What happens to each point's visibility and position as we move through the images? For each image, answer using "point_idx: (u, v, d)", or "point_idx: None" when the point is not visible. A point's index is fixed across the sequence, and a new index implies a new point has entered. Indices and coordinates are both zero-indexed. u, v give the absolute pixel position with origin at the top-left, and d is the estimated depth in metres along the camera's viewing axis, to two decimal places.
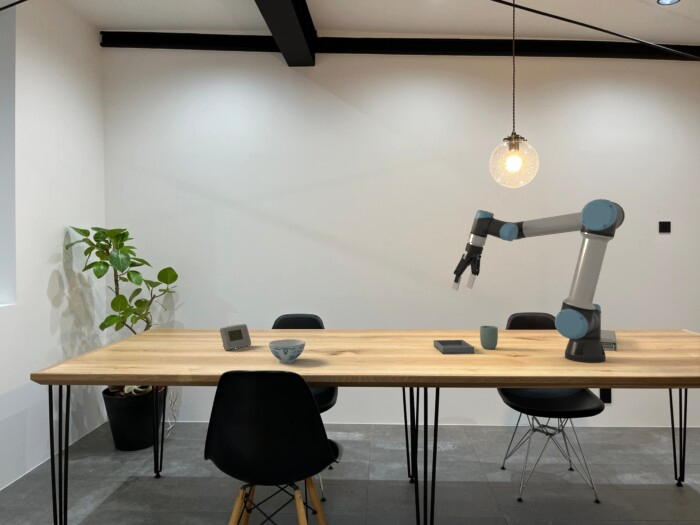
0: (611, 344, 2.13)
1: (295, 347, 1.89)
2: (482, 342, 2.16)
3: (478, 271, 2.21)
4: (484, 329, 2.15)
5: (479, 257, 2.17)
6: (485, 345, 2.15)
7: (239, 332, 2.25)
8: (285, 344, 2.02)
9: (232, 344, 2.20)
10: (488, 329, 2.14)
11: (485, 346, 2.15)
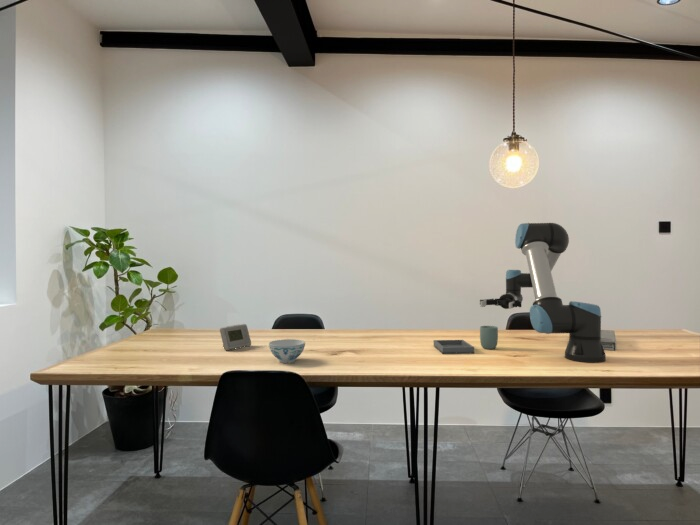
0: (610, 344, 2.13)
1: (295, 347, 1.89)
2: (482, 342, 2.16)
3: (518, 301, 2.27)
4: (484, 329, 2.15)
5: None
6: (485, 345, 2.15)
7: (239, 332, 2.25)
8: (285, 344, 2.02)
9: (232, 344, 2.19)
10: (488, 329, 2.14)
11: (485, 346, 2.15)
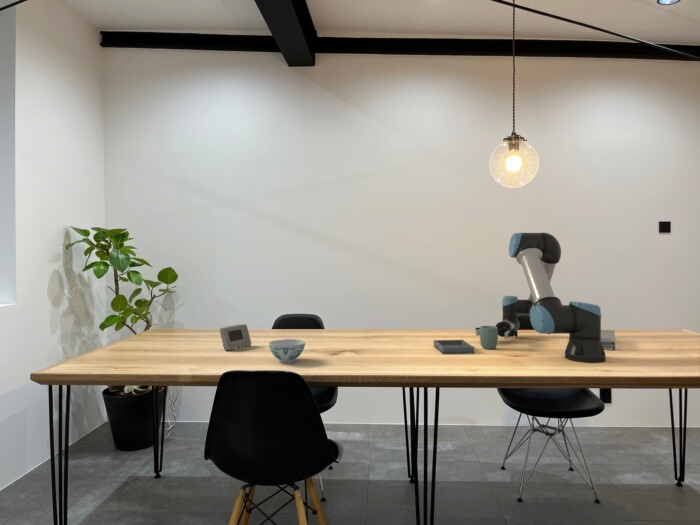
0: (610, 344, 2.14)
1: (295, 347, 1.89)
2: (482, 342, 2.16)
3: (514, 331, 2.23)
4: (484, 329, 2.15)
5: (512, 329, 2.30)
6: (485, 345, 2.15)
7: (239, 333, 2.25)
8: (285, 344, 2.02)
9: (232, 344, 2.19)
10: (488, 329, 2.14)
11: (485, 346, 2.15)
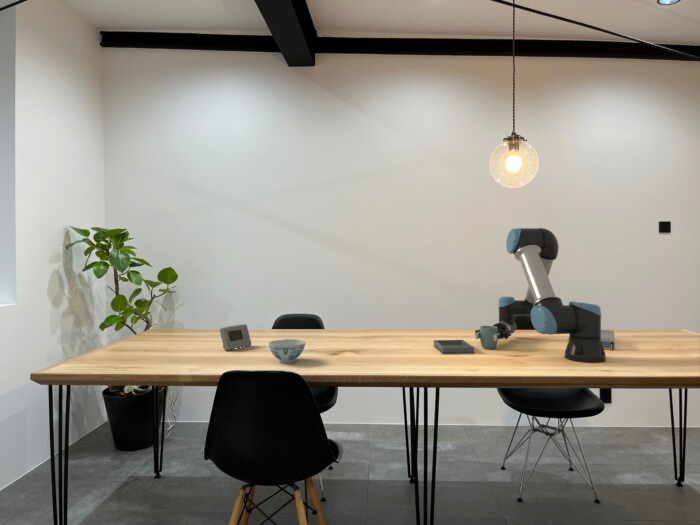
0: (609, 343, 2.14)
1: (295, 347, 1.89)
2: (482, 342, 2.16)
3: (505, 333, 2.17)
4: (484, 329, 2.15)
5: (508, 330, 2.24)
6: (485, 345, 2.15)
7: (239, 333, 2.25)
8: (285, 344, 2.02)
9: (232, 344, 2.19)
10: (488, 329, 2.14)
11: (485, 346, 2.15)
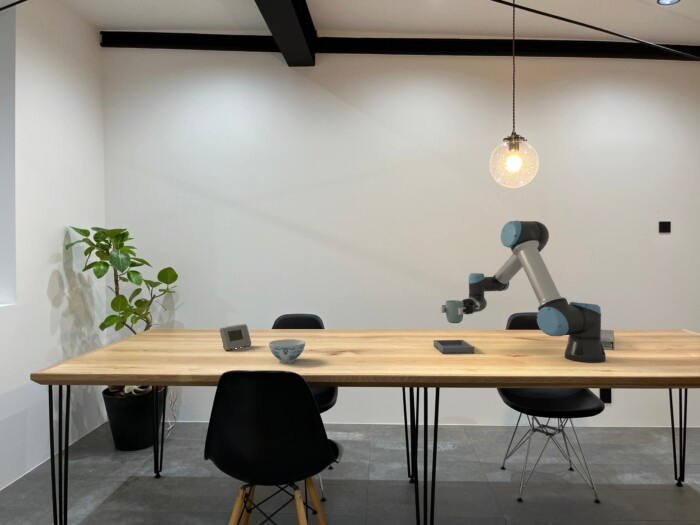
0: (609, 343, 2.15)
1: (295, 347, 1.89)
2: (447, 316, 2.15)
3: (471, 307, 2.16)
4: (449, 303, 2.14)
5: (475, 305, 2.22)
6: (451, 319, 2.14)
7: (239, 333, 2.25)
8: (285, 344, 2.02)
9: (232, 344, 2.19)
10: (453, 303, 2.13)
11: (450, 320, 2.14)
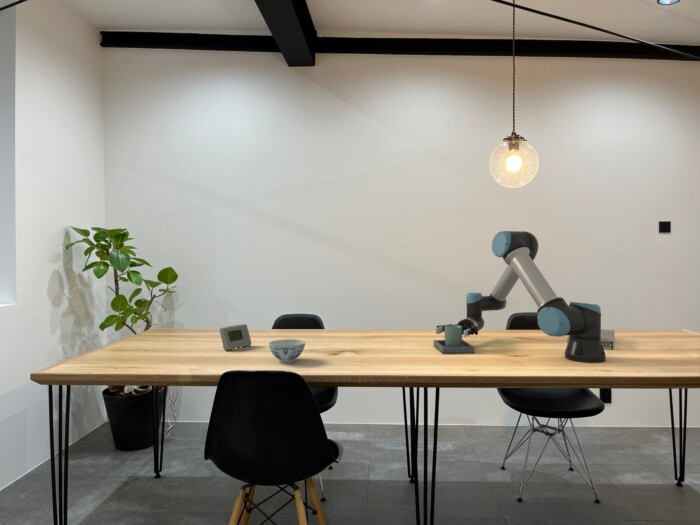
0: (608, 343, 2.15)
1: (295, 347, 1.89)
2: (446, 341, 2.14)
3: (475, 329, 2.15)
4: (448, 328, 2.13)
5: (474, 326, 2.22)
6: (449, 345, 2.13)
7: (239, 333, 2.25)
8: (285, 344, 2.02)
9: (232, 344, 2.19)
10: (452, 328, 2.12)
11: (449, 345, 2.13)
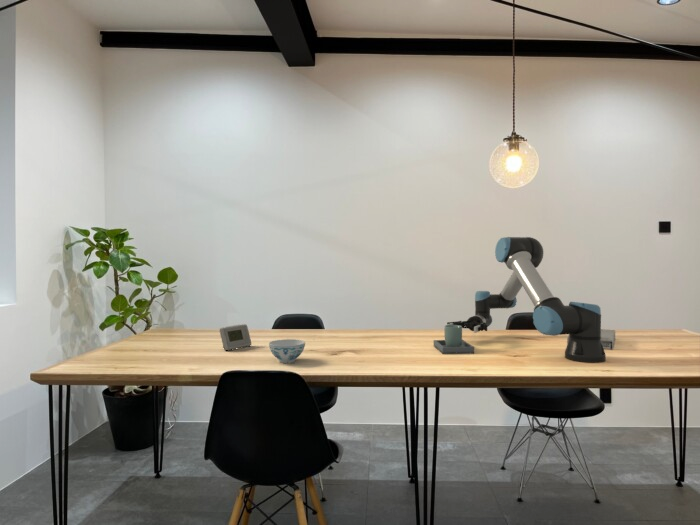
0: (608, 343, 2.16)
1: (295, 347, 1.89)
2: (446, 341, 2.14)
3: (484, 325, 2.25)
4: (448, 328, 2.13)
5: (483, 323, 2.33)
6: (449, 345, 2.13)
7: (239, 333, 2.25)
8: (285, 344, 2.02)
9: (232, 344, 2.19)
10: (452, 328, 2.12)
11: (449, 345, 2.13)
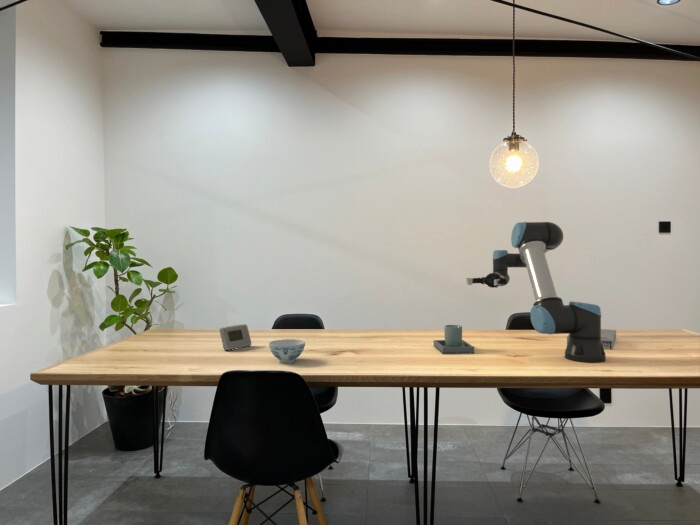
0: (607, 343, 2.16)
1: (295, 347, 1.89)
2: (446, 341, 2.14)
3: (504, 279, 2.30)
4: (448, 328, 2.13)
5: None
6: (449, 344, 2.13)
7: (239, 333, 2.25)
8: (285, 344, 2.02)
9: (232, 344, 2.19)
10: (452, 328, 2.12)
11: (449, 345, 2.13)
